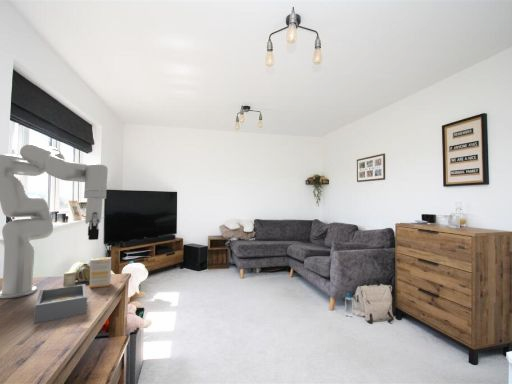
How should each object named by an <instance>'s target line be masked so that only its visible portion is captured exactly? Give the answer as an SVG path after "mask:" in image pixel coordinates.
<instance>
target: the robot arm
mask: <svg viewBox="0 0 512 384" xmlns="http://www.w3.org/2000/svg"><path fill="white" fill-rule="evenodd" d="M108 170H109V168H108V166H106V165H104V164H101V163H100V164H99V163H87V164H86V163H81V162H75V161H68V160H66V159H65V156H64V155H63V154H62V153H61V151H60V150H59V149H57V148H56V147H53V146H47V145H41V144H38V143H28V144H25V145H23V146H22V147H21V148H20V150H19V155H17V154H11V153H10V154H9V153H7V154H6V153H2V154H0V206H1V207H0V208H1V211H2V213H3V215H4V216H5V217H8V218H21V219H14V220H10V221H8V222H7V223H5V224H4V225H3V227H2V231H1V232H2V240H3V247H4V249H3V250H4V253H3V256H4V257H3V272H2V287H1V288H2V289H1V290H0V299H15V298H21V297H25V296H28V295H31V294H33V293H35V292H36V291H38V286H35V285H33V282H34V279H33V278H34V264H35V249H34V246H33V244H31V243H30V241H34V240H42V239H45V238H49V237H50V236H51V234H52V233H53V231H54V225H53V220H52V215H51V211H50V208H49V205H48V202H47V201H46V200H45V198H43V197H41V196H38V195H28V194H27V193H26V191H25V186H24V184H23V183H22V182H21V181H20V179H18V178H17V177H16V176H17V175H18V176H27V177H28V176H29V177H34V176H35V177H36V176H40V175H42V174H43V175H44V173H46V174H48V176H51V177H53V178H56V179H58V180H61V181H66V182H80V183H84V189H83V190H84V193H83V194H84V195H83V199H86V204H85V220H84V221H85V224H86V225H87V224H88V226H87V237H88V240H89V241H93V240H94V241H95V240H96V241H97V240H98V239H99V235H100V234H99V233H100V231H99V230H100V229H99V224H100V223H101V221H102V220H101V219H102V213H103V212H102V211H103V200H105V199H107V188H108V187H107V186H108V172H109V171H108ZM15 175H16V176H15ZM29 217H30V218H29Z"/></svg>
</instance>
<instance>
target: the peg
mask: <svg viewBox="0 0 512 384" xmlns="http://www.w3.org/2000/svg"><path fill="white" fill-rule="evenodd" d="M75 275H76V271H66V272H64V273H63V283H62V287H68V286H75V285H76V281H75Z"/></svg>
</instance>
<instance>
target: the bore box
mask: <svg viewBox="0 0 512 384" xmlns="http://www.w3.org/2000/svg"><path fill="white" fill-rule="evenodd" d="M87 299H88V297H87V287H86V283H83V284H77V285H76V284H75V286H68V287H63V286H61V287H55V288H53V287H52V288H48V289H47V288H46V289H41V290H40V289H39V292H38V296H37V298H36V301H35V305H34V314H33V315H34V319H33V324H39V323H43V322H48V321H49V322H50V321H54V320H59V319H65V318H71V317H77V316H81V315H84V314H87V301H88V300H87Z"/></svg>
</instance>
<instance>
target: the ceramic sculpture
mask: <svg viewBox="0 0 512 384" xmlns="http://www.w3.org/2000/svg"><path fill="white" fill-rule="evenodd" d="M75 272H76V275H75V282H83V283H84V281H85V282H89V283H90V262H88V263H84V264H82V265H81V266H80V267H78V268H77V269H76V271H75Z"/></svg>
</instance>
